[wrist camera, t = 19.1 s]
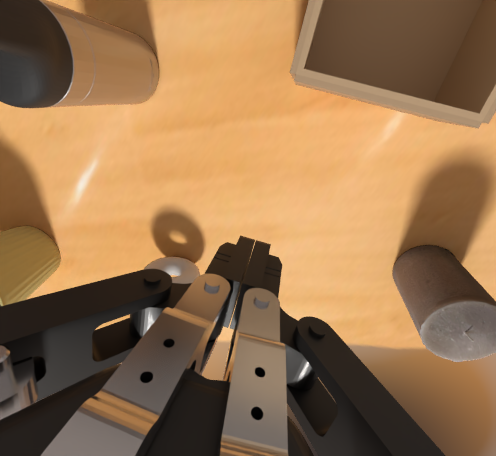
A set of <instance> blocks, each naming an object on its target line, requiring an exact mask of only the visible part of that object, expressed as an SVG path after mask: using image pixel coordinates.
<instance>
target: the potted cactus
mask: <svg viewBox="0 0 496 456" xmlns="http://www.w3.org/2000/svg"><path fill="white" fill-rule="evenodd" d="M60 261H61V257H60V253H59V250H58V248H57V246H56V244H55V243H54V241H53V240H52V239H51V238H50V237H49V236H48V235H47V234H45V233H44V232H43V231H41V230H39V229H37V228H35V227H31V226H20V227H16V228H12V229H9V230H6V231H2V232H0V306H4V305H8V304H12V303H15V302H19V301H23V300H26V299H27V298H28V297H29V296H30V295H31V294H32V293H33V292H34V291H35V290H36V289H37V288H38V287H39V286H40V285H41V284H42V283H43V282H44V281H45V280H46V279H48V278H49V277H50V276H51V275H52V274H53V273H54V272H55V271H56V270H57V268H58V267H59V265H60Z"/></svg>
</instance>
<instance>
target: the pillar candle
mask: <svg viewBox="0 0 496 456" xmlns="http://www.w3.org/2000/svg"><path fill="white" fill-rule="evenodd" d="M393 279H394V281H395V284H396V286H397V288H398V290H399V292H400V295H401V297H402V299H403V301H404V303H405V305H406V307H407V309H408V311H409V313H410V316H411V318H412V320H413V322H414V324H415V326H416V328H417V330H418V333H419V335H420V337H421V339H422V342H423V344H424V345H425V346H426V348H427V349H428V350H430V351H431V352H433V353H434V354H435V355H438V356H440V357H442V358H445V359H449V360H452V361H455V362H462V361H465V360H466V361H468V360H476V359H480V358H484V357H487V356H489V355H491V354H493V353H496V301H495V300H494V299H493V298H492V297H491V296H490V295H489V294H488V293H487V292H486V291H485V289H484V288H483V287H482V286H481V285H480V284H479V283H478V282H477V281H476V280H475V279H474V278H473V277H472V275H471V274H470V273H469V272H468V271H467V270H466V269H465V268H464V267H463V266H462V265H461V264H460V263H459V261H458V260H457V259H456V258H455V256H454V255H453V254H452V253H451V252H450V251H449V250H447V249H444V248H441V247H439V246H433V245H425V246H419V247H415V248H412V249H410V250H408V251H406V252H405V253H404V254H402V255H401V256H400V257H399V258H398V260H397V261H396V263H395V265H394V267H393Z"/></svg>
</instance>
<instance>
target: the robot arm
mask: <svg viewBox="0 0 496 456" xmlns="http://www.w3.org/2000/svg"><path fill="white" fill-rule="evenodd" d="M158 80H159V68H158V62H157V59H156V57H155V54H154V52H153V51H152V49H151V47H150V46H149V45H148V44H147V42H146V41H145V40H143V39H142V38H141V37H140V36H138V35H136V34H134V33H132V32H129V31H126V30H124V29H121V28H119V27H116V26H113V25H111V24H108V23H105V22H103V21H100V20H97V19H95V18H92V17H89V16H87V15H84V14H82V13H79V12H76V11H74V10H71V9H68V8H66V7H63V6H60V5H58V4H55V3H52V2H49V1H46V0H0V101H1V102H3V103H5V104H8V105H11V106H15V107H20V108H44V107H66V106H92V105H121V104H138V103H142V102H144V101H146V100H148V99H149V98H150V97H151V96H152V95H153V93H154V92H155V90H156V87H157V85H158ZM254 242H255V240H254V239H250V238H247V237H243V236H240V238H239V240H238V242H237V244H236V245H235V244H231V243H228V242H227V243H225V244H223V245H221V246H220V247H219V249H218V251H217V253H216V254H215V256H214V258H213V260H212V261H211V263H210V265H209V267H208V269H207V270H206V272H205V274H203V275H200V276H198V277H197V278H196V279H195V280H194V282H193V283H188V284H181V283H172V278H171V276H170V275H169V274H168V273H167V272H165V271H162V270H159V269H145V270H140V271H137V272H133V273H129V274H125V275H121V276H117V277H113V278H109V279H105V280H101V281H98V282H94V283H90V284H86V285H82V286H78V287H74V288H70V289H66V290H62V291H58V292H55V293H51V294H47V295H43V296H39V297H35V298H31V299H27V300H23V301H19V302H15V303H12V304H8V305H4V306H0V456H314V455H313V453H312V451H311V450H310V448H309V446H308V444H307V442H306V440H305V439H304V437H303V435H302V434H301V432H300V431H299V429H298V428H297V426H296V425H295V423H294V422H293V421H292V420H291V419H290V418H289V417H288V416H287V403H288V405H289V407H290V408H291V410H292V412H293V413H294V414H295V417H296V418H297V420H298V422H299V424H300V425H301V427H302V429H303V430H304V432H305V434H306V435H307V437H308V439H309V441H310V442H311V444H312V446H313V447H314V449H315V451H316V452H317V454H318V456H445V455H444V454H443V452H441V450H440V449H439V448H438V447H437V446H436V445H435V443H434V442H433V441H432V440H431V439H430V438H429V437H428V436H427V435H426V433H425V432H424V431H423V430H422V429H421V428H420V427H419V426H418V425H417V423H416V422H415V421H414V420H413V419H412V418H411V417H410V416H409V414H408V413H407V412H406V411H405V410H404V409H403V408H402V406H401V405H400V404H399V403H398V402H397V401H396V400H395V399H394V398H393V396H392V395H391V394H390V393H389V392H388V391H387V390H386V389H385V387H384V386H383V385H382V384H381V383H380V382H379V381H378V380H377V378H376V377H375V376H374V375H373V374H372V373H371V372H370V371H369V369H368V368H367V367H366V366H365V365H364V364H363V363H362V362H361V360H360V359H359V358H358V357H357V356H356V355H355V354H354V353H353V352H352V350H350V348H349V347H348V346H347V345H346V344H345V343H344V341H343V340H342V339H341V338H340V337H339V336H338V335H337V334H336V332H335V331H334V330H333V329H332V328H331V327H330V326H329V325H328V324H327V323H325V322H324V321H322V320H320V319H318V318H315V317H303V318H301V319H300V320H299V321H297V320H296V319H294V318H292V317H291V316H289V315H288V314H286V313H285V312H284V311H283V310H282V309H281V307H280V302H279V300H278V294H279V286H280V277H281V270H282V263H281V261H280V259H279V257H275V256H272V255H269V250H270V245H271V244H267V243H264V242H261V241H257V240H256V242H255V245H254ZM253 245H254V249H253ZM252 249H253V252H252ZM251 253H252V255H251ZM250 256H251V258H250ZM249 260H250V261H249ZM248 263H249V264H248ZM238 296H239V297H238ZM237 299H238V300H237ZM236 302H237V304H236ZM235 305H236V307H235ZM234 308H235V311H234ZM233 311H234V315H233V318H232V322H231V325H230V328H231V329H234V332H233V335H232V339H231V342H230V346H229V350H228V356H227V361H226V366H225V371H224V376H223V381H218V380H209V379H206V378H204V377H203V376H201V375H202V372H203V371H204V368H205V366H206V364H207V361H208V360H209V357H210V355H211V353H212V351H213V349H214V347H215V344H216V342H217V339H218V336H219V335H220V333H221V330H222V328H223V326H224V327H227V328H228V326H229V323H230V320H231V317H232V314H233ZM129 314H130V318H128V319H125V320H122V321H120V322H117V323H114V324H111V325H109V326H106V327H103V328H100V329H97V330H95V329H96V328H97V327H98V326H100V325H101V324H103V323H106V322H109V321H112V320H115V319H117V318H120V317H123V316H126V315H129ZM94 330H95V331H94ZM121 362H122V364H119V363H121ZM117 364H118V365H117ZM318 377H319V378H320V380H321V381H322V383H323V384H324V385H325V387H326V388H327V389H328V391H329V392H330V393H331V395H332V396H333V398H334V399H335V401H336V403H335V402H334V400H333V399H332V397H331V396H330V395H329V393H328V392H327V391H326V389H325V388H324V386H323V385H322V384H321V382H320V381H319V379H318ZM64 388H65V389H64ZM62 389H63V390H62ZM60 390H61V391H60ZM58 391H59V392H58ZM53 393H54V394H53ZM51 394H52V395H51ZM49 395H50V396H49ZM47 396H48V397H47ZM45 397H46V398H45ZM42 398H44V399H42ZM40 399H42V400H40ZM38 400H40V401H38ZM36 401H38V402H36ZM35 402H36V403H35Z"/></svg>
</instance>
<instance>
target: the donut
mask: <svg viewBox="0 0 496 456" xmlns="http://www.w3.org/2000/svg"><path fill="white" fill-rule="evenodd" d="M145 269H159V270H162V271H165V272H167V273H168V274H169V275H177V277H171V278H172V283H181V284H188V283H193V282H194V280H195V279H196V278H197V277H198V276H200V272H199V269H198V267H197V266H196V265H195V264H194V263H193V262H191V261H189V260H188V259H184V258H181V257H164V258H160V259H157V260H155V261H152V262H151V263H150V264H148V265H147V266H146V267H145V268H144V270H145Z"/></svg>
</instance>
